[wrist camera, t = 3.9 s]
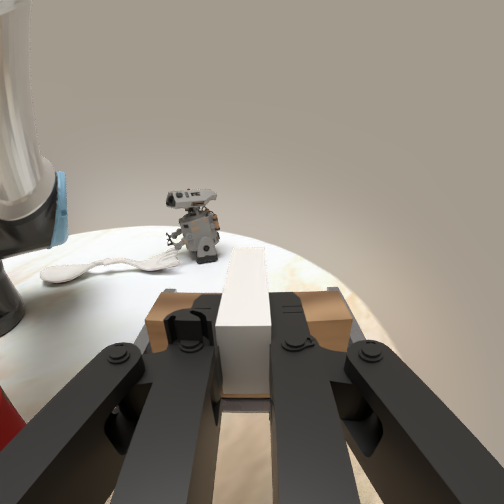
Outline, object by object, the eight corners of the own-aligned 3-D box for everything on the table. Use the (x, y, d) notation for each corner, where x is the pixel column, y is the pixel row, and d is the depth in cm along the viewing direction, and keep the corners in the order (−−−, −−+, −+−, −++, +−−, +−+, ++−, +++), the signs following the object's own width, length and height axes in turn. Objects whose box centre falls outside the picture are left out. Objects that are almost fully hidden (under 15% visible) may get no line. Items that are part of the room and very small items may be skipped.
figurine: (166, 254, 64) (160, 189, 59) (214, 247, 68) (210, 184, 63) (170, 269, 56) (162, 194, 51) (225, 260, 60) (221, 189, 55)
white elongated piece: (181, 276, 54) (179, 259, 53) (36, 290, 46) (32, 275, 45) (179, 259, 62) (178, 244, 61) (50, 273, 54) (47, 259, 53)
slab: (336, 393, 25) (352, 318, 22) (164, 393, 25) (144, 320, 22) (327, 361, 30) (338, 290, 27) (175, 362, 30) (161, 292, 27)
